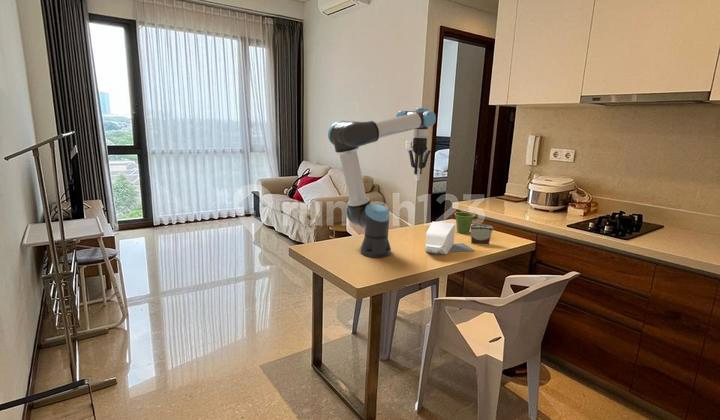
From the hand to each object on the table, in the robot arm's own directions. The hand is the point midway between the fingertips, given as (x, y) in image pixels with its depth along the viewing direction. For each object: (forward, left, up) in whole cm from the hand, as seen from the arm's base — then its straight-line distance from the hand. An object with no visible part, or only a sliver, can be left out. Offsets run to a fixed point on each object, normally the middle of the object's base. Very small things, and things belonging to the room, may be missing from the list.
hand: (417, 180), depth 214 cm
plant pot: (+33, +3, -33) cm, 46 cm away
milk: (+10, -16, -26) cm, 32 cm away
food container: (+32, -17, -33) cm, 49 cm away
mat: (+14, -24, -32) cm, 43 cm away
